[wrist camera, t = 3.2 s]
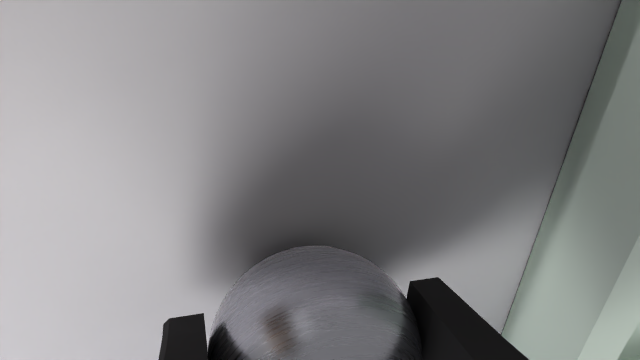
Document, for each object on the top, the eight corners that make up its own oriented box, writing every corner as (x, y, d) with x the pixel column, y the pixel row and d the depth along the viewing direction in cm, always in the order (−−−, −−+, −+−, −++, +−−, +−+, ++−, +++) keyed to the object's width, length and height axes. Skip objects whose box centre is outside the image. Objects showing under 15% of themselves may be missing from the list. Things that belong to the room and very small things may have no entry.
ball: (370, 324, 14) (437, 486, 10) (206, 352, 13) (225, 538, 10) (390, 194, 11) (483, 350, 8) (192, 216, 10) (211, 401, 7)
